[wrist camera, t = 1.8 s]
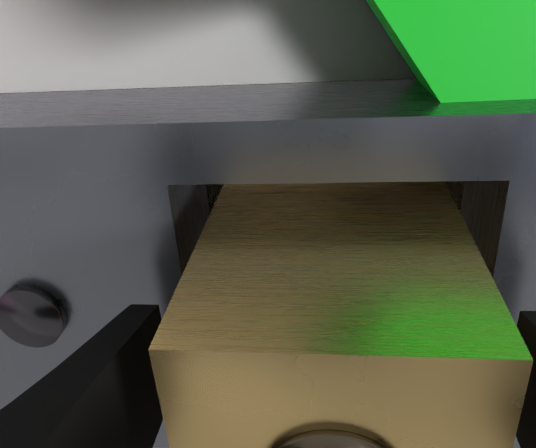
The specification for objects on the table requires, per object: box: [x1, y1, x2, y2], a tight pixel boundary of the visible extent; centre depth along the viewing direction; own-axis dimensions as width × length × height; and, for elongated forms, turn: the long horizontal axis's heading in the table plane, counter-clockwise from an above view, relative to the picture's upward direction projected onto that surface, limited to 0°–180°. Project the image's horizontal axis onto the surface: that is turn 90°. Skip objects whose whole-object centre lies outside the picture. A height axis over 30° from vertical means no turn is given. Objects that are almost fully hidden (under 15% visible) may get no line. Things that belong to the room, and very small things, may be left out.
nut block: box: [148, 181, 533, 448], centre depth 11 cm, size 5×5×7 cm
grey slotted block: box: [0, 79, 536, 448], centre depth 13 cm, size 9×14×3 cm, turn 93°
